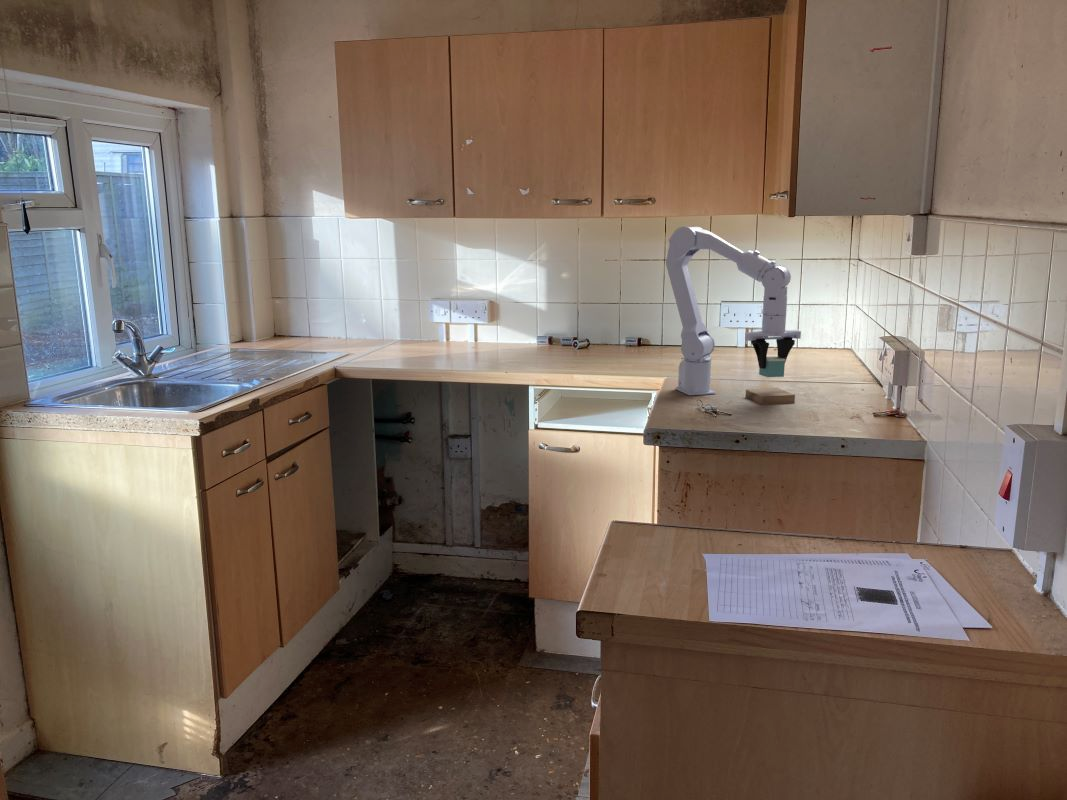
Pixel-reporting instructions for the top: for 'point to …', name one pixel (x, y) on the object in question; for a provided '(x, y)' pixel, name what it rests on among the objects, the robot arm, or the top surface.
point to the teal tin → (773, 367)
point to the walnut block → (770, 396)
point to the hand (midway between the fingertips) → (771, 367)
